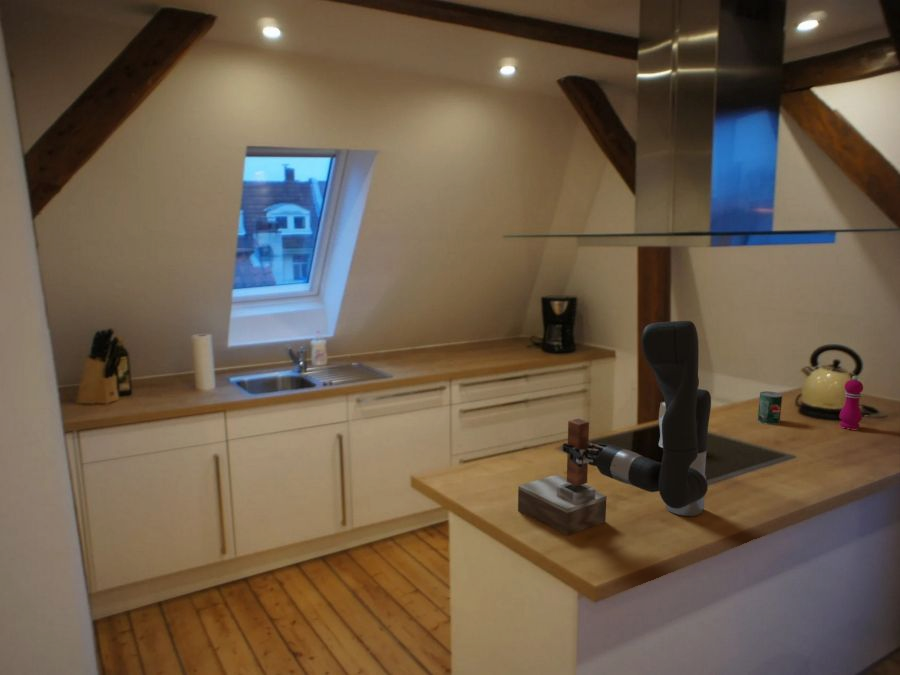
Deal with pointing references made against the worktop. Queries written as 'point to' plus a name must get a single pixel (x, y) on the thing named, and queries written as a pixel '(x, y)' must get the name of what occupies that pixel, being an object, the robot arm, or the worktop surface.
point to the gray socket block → (562, 504)
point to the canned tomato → (769, 407)
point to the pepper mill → (851, 404)
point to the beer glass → (661, 414)
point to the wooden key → (578, 438)
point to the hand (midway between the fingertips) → (569, 445)
